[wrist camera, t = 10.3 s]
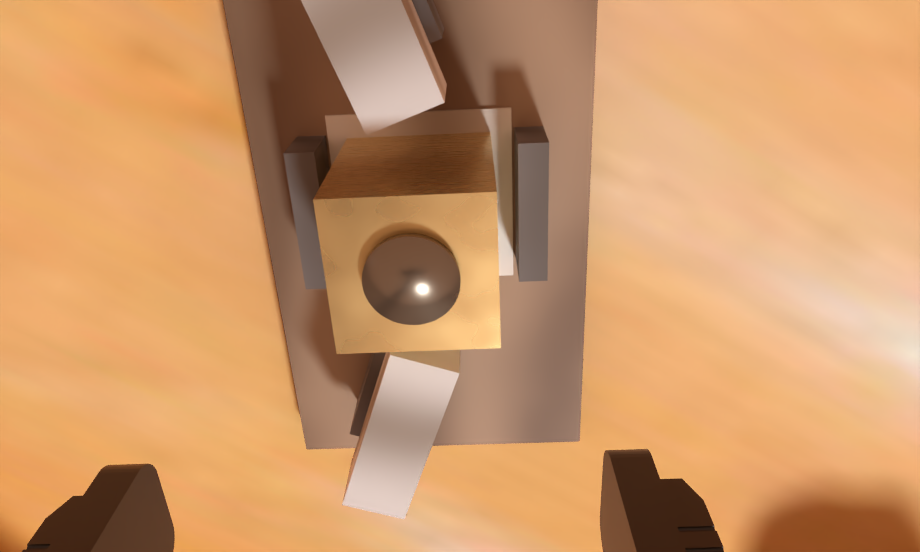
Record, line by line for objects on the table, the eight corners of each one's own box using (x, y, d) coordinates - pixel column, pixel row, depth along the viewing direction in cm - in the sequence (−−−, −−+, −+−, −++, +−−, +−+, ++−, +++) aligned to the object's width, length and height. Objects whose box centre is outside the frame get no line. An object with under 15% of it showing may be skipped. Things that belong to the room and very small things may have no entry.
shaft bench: (311, 431, 32) (282, 530, 27) (206, -159, 21) (123, -185, 16) (575, 423, 32) (597, 522, 26) (598, -181, 21) (640, -214, 16)
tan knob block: (362, 266, 27) (334, 359, 21) (346, 138, 24) (310, 203, 19) (494, 261, 26) (501, 353, 21) (490, 131, 24) (497, 195, 19)
